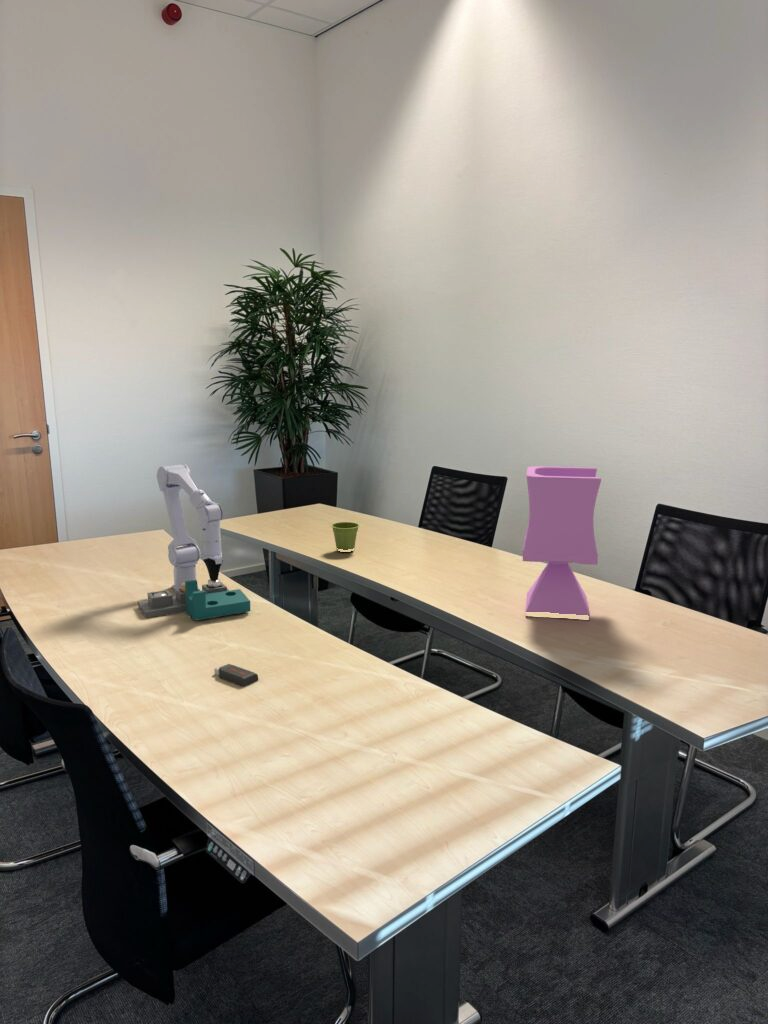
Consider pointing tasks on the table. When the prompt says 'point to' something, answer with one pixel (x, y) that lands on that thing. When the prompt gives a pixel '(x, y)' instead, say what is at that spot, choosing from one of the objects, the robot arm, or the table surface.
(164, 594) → the knob
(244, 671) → the usb drive
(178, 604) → the control panel
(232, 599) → the teal l-shaped bracket
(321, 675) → the table surface
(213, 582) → the knob
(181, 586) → the middle knob
